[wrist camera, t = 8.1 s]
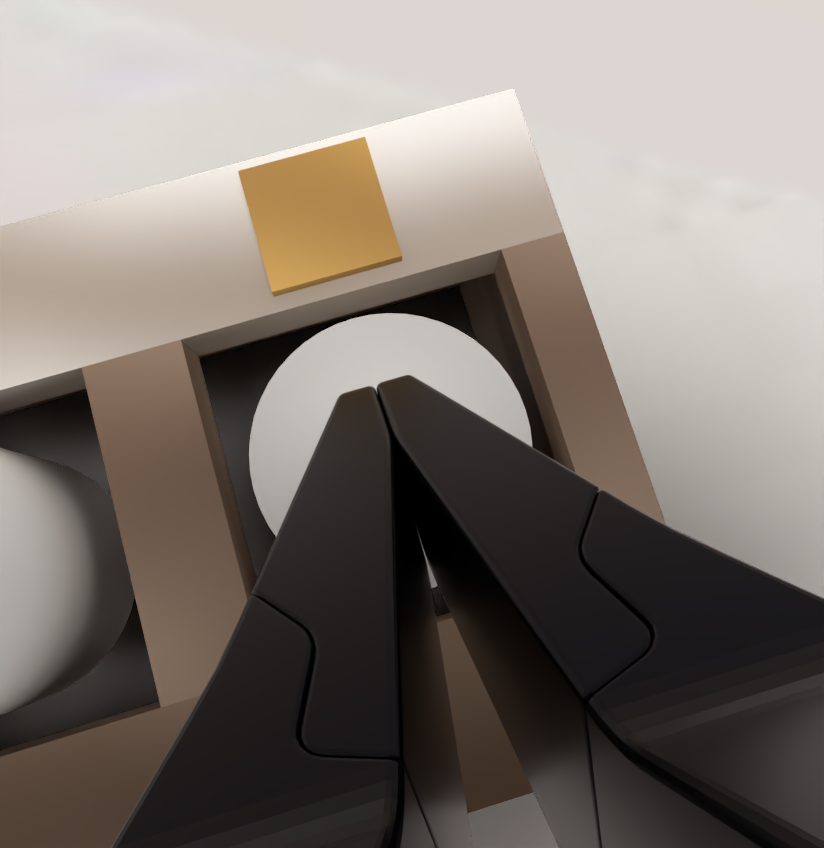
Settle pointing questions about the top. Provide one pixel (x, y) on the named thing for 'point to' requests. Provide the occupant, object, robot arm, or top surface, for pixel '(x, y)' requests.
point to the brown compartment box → (262, 320)
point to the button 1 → (360, 367)
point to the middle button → (56, 578)
